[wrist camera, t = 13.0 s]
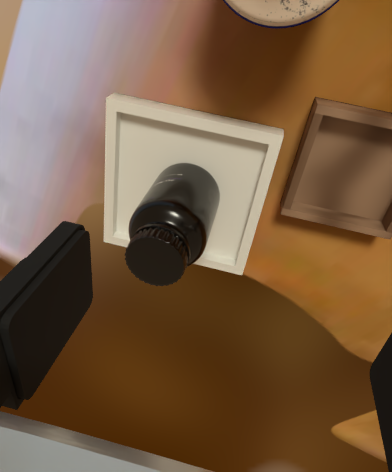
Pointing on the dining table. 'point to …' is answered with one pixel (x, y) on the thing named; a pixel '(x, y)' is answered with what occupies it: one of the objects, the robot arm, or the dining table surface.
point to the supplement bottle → (172, 224)
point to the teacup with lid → (279, 11)
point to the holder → (343, 169)
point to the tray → (195, 152)
